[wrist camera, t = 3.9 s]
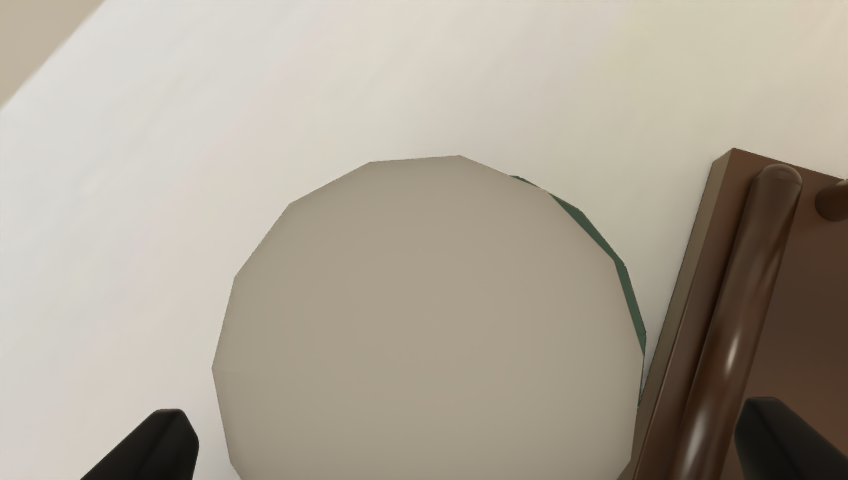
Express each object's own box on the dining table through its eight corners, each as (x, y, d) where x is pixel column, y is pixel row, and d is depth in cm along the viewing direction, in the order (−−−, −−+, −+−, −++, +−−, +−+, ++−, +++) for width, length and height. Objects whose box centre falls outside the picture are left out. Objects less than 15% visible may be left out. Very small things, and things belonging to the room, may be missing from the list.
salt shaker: (447, 210, 18) (361, -63, 6) (599, 318, 17) (920, 286, 5) (337, 359, 18) (-25, 429, 5) (485, 478, 17) (486, 928, 4)
